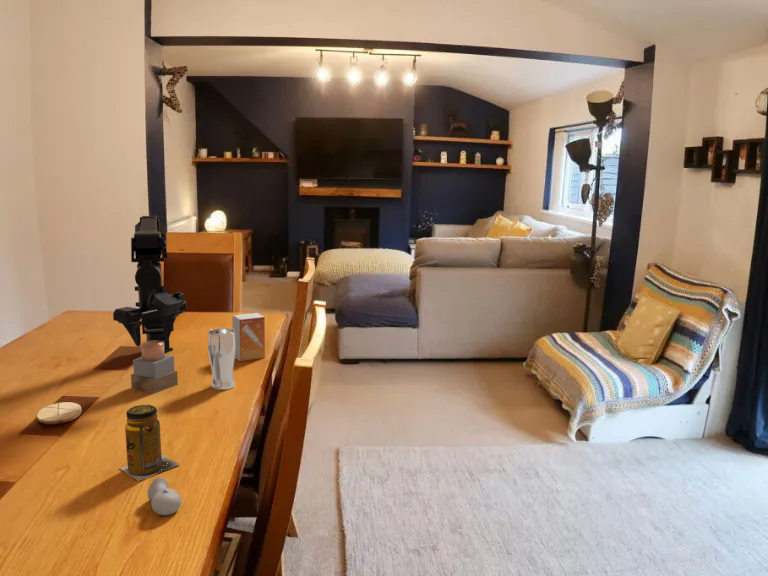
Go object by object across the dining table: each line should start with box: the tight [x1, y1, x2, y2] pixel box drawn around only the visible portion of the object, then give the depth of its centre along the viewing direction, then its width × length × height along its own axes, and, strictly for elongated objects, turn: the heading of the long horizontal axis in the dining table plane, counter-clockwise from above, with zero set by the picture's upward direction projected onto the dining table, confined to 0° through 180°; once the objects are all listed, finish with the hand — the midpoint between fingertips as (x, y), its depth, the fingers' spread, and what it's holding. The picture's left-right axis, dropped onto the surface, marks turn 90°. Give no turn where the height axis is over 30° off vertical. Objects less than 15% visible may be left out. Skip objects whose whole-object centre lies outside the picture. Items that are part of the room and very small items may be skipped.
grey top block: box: [132, 354, 175, 379], centre depth 155 cm, size 7×7×4 cm
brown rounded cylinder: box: [140, 340, 166, 361], centre depth 155 cm, size 6×6×4 cm
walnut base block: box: [130, 370, 179, 395], centre depth 156 cm, size 8×8×4 cm
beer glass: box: [207, 327, 236, 391], centre depth 156 cm, size 7×7×15 cm
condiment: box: [119, 404, 180, 482], centre depth 113 cm, size 7×8×12 cm
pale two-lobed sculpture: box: [147, 476, 182, 516], centre depth 101 cm, size 4×8×5 cm
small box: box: [231, 312, 266, 362], centre depth 181 cm, size 8×6×13 cm
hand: (153, 342), depth 154 cm, fingers open, 9 cm apart
